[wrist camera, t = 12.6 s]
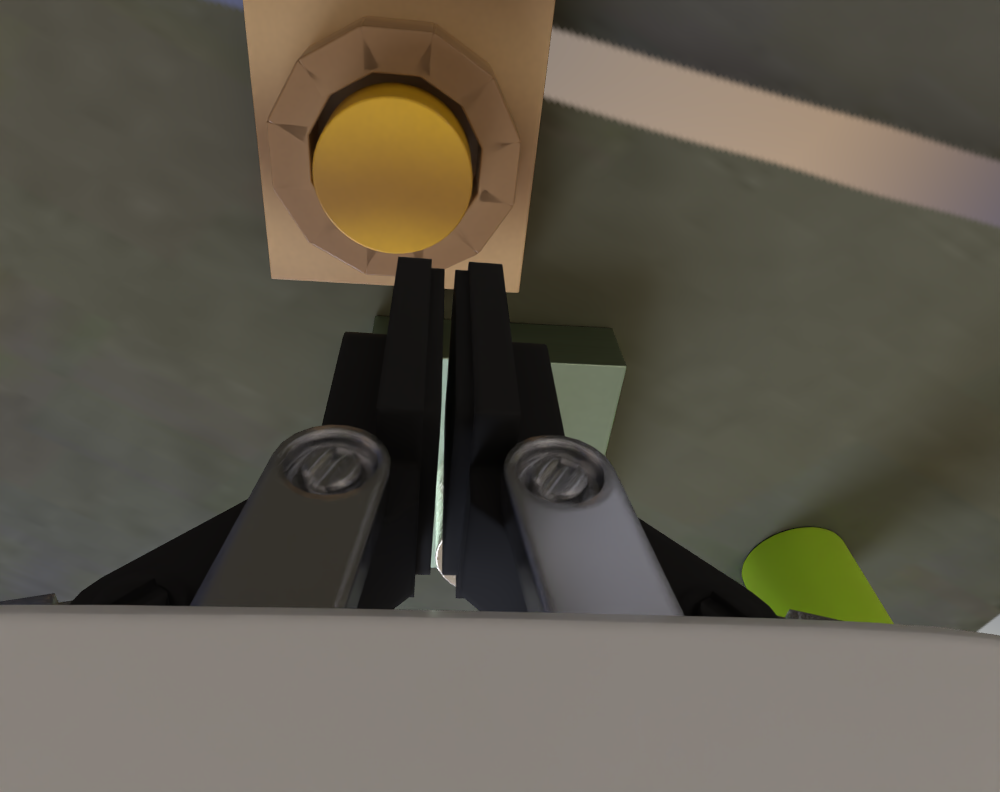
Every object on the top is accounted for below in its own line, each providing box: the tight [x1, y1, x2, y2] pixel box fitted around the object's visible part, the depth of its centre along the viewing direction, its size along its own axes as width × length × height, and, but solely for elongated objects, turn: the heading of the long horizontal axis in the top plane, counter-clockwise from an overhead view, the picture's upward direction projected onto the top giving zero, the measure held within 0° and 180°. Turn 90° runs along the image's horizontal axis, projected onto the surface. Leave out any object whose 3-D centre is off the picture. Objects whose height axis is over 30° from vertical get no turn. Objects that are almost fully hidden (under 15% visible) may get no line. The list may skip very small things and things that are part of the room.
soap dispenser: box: [742, 527, 894, 624], centre depth 32 cm, size 6×7×20 cm
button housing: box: [243, 0, 555, 293], centre depth 23 cm, size 10×9×4 cm
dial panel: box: [373, 316, 626, 568], centre depth 31 cm, size 12×10×3 cm
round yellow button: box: [312, 82, 473, 254], centre depth 21 cm, size 5×5×2 cm
